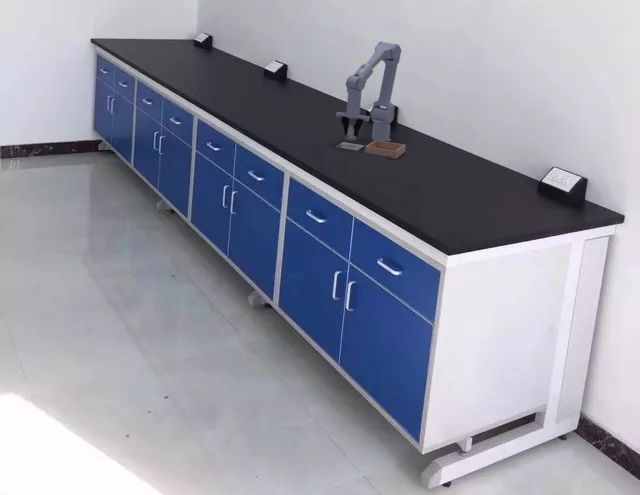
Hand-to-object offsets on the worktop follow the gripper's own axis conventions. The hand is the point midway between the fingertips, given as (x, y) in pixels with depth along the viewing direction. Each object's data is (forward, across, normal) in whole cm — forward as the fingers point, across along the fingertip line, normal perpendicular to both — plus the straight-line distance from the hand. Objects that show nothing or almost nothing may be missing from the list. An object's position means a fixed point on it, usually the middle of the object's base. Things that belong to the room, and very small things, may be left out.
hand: (351, 135), depth 344 cm
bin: (+6, +16, 0) cm, 17 cm away
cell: (+2, 0, 0) cm, 2 cm away
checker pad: (+6, 0, 0) cm, 6 cm away
